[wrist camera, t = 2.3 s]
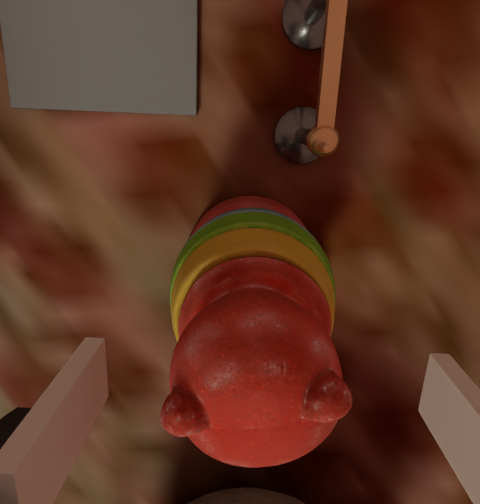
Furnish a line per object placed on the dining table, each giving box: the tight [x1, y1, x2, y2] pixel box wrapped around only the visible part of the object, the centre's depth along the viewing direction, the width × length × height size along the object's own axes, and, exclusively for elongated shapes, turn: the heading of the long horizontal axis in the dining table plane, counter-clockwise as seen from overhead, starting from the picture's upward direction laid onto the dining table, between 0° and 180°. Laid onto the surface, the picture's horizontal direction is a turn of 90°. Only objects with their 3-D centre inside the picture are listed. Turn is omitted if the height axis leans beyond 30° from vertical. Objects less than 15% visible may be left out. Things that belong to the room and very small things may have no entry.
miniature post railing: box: [274, 0, 348, 164], centre depth 21 cm, size 8×16×9 cm, turn 178°
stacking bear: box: [160, 196, 353, 468], centre depth 21 cm, size 11×10×18 cm
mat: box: [0, 0, 198, 115], centre depth 25 cm, size 12×12×1 cm
